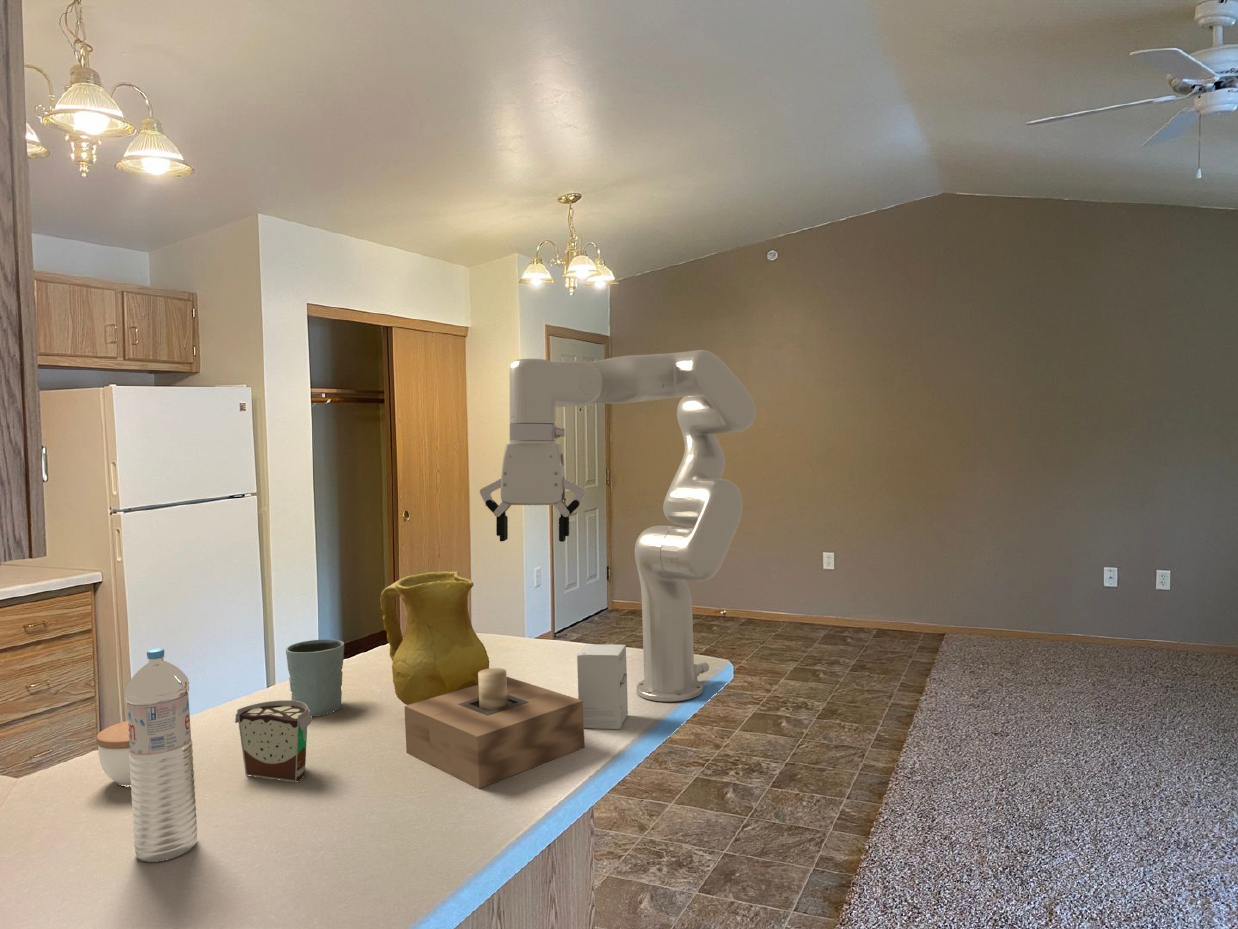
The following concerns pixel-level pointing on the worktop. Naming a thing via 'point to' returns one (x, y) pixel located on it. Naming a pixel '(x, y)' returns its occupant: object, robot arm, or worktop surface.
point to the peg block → (494, 732)
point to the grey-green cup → (316, 674)
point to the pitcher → (432, 636)
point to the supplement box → (603, 685)
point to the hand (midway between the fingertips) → (532, 540)
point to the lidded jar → (115, 752)
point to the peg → (492, 688)
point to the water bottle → (161, 760)
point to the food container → (274, 739)
